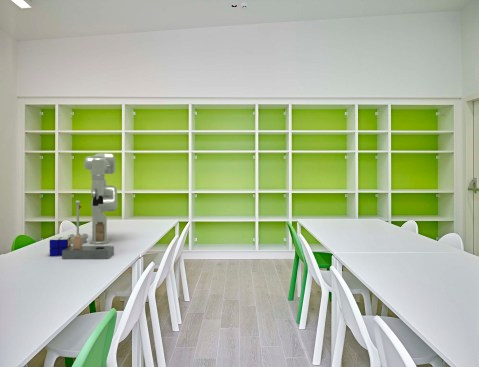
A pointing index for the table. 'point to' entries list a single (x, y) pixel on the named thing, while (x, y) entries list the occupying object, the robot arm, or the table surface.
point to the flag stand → (78, 227)
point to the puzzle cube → (59, 245)
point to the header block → (88, 252)
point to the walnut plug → (100, 231)
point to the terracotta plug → (77, 242)
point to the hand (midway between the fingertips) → (98, 204)
